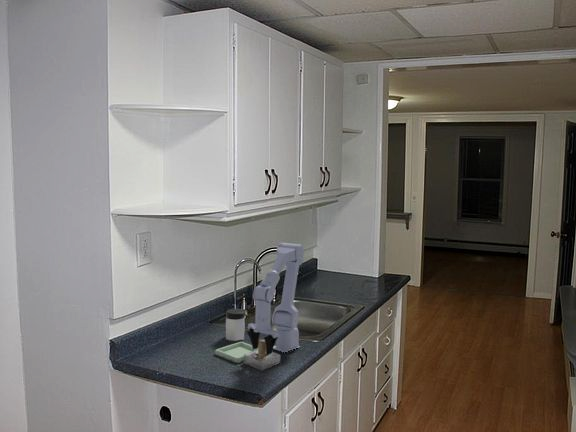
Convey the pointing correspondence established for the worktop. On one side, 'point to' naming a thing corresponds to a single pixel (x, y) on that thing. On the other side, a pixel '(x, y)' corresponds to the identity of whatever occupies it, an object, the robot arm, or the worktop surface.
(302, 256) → the robot arm
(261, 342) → the pin
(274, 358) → the socket block
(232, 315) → the jar
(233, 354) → the tray
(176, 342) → the worktop surface
